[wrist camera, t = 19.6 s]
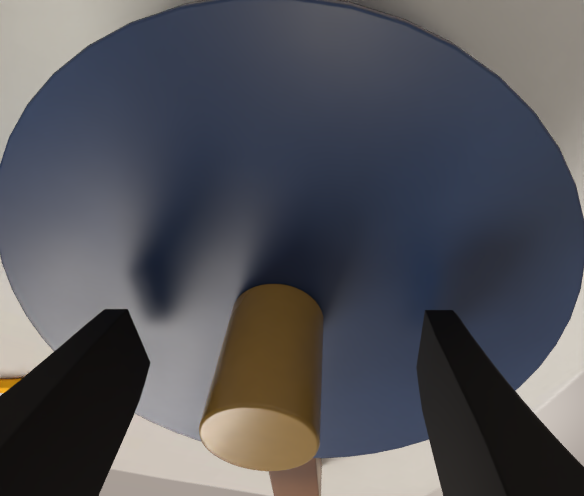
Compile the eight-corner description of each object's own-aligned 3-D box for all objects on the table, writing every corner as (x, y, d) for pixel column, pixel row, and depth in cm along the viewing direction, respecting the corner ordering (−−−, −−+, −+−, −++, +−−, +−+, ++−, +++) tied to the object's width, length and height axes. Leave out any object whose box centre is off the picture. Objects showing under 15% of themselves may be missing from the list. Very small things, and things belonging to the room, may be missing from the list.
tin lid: (122, 423, 17) (62, 556, 13) (-103, 21, 8) (-444, 76, 5) (495, 437, 15) (546, 592, 11) (680, -46, 7) (1097, -45, 3)
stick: (321, 467, 26) (320, 512, 24) (281, 465, 26) (276, 510, 24) (314, 368, 20) (312, 416, 18) (263, 367, 21) (255, 414, 19)
